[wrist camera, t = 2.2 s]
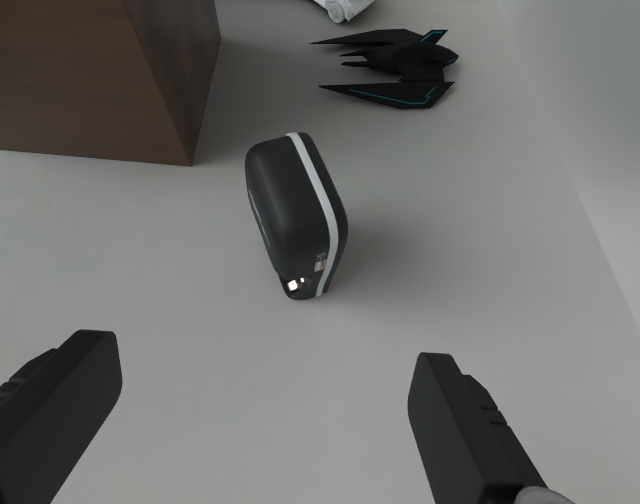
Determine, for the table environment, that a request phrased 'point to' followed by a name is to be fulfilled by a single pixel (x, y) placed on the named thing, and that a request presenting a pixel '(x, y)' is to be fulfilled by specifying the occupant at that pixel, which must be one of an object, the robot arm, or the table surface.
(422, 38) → the black starfighter toy
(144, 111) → the riser
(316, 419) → the table surface
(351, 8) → the car
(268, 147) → the battery charger
